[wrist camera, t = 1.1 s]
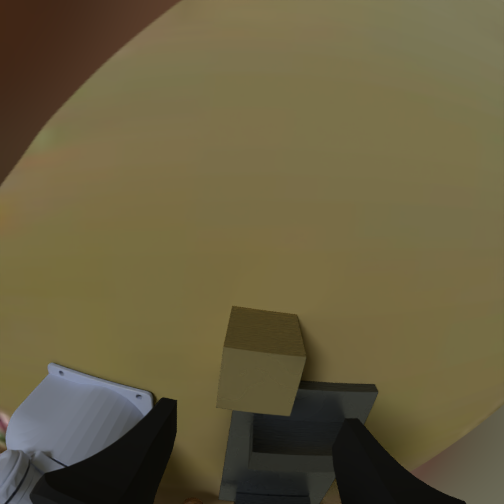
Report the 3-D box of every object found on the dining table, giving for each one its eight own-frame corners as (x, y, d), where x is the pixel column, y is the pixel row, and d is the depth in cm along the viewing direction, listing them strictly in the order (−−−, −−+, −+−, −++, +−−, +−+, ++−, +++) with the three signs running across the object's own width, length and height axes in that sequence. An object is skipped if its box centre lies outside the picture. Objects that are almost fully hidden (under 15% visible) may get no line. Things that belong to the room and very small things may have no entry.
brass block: (225, 359, 20) (216, 407, 15) (232, 305, 19) (223, 346, 14) (284, 366, 20) (289, 416, 15) (296, 314, 19) (306, 357, 15)
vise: (219, 492, 24) (215, 526, 20) (238, 373, 20) (233, 417, 16) (317, 497, 24) (322, 530, 20) (374, 384, 21) (393, 424, 16)
